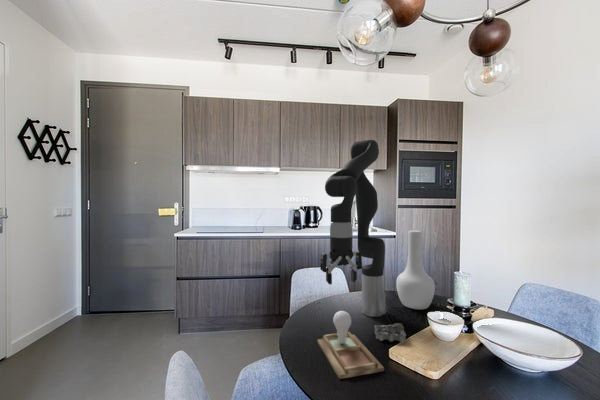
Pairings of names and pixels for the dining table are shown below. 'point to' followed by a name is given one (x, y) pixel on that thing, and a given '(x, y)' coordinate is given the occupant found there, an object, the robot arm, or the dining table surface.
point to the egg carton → (395, 328)
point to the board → (348, 356)
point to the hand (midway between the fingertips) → (341, 282)
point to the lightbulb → (342, 325)
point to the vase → (415, 277)
